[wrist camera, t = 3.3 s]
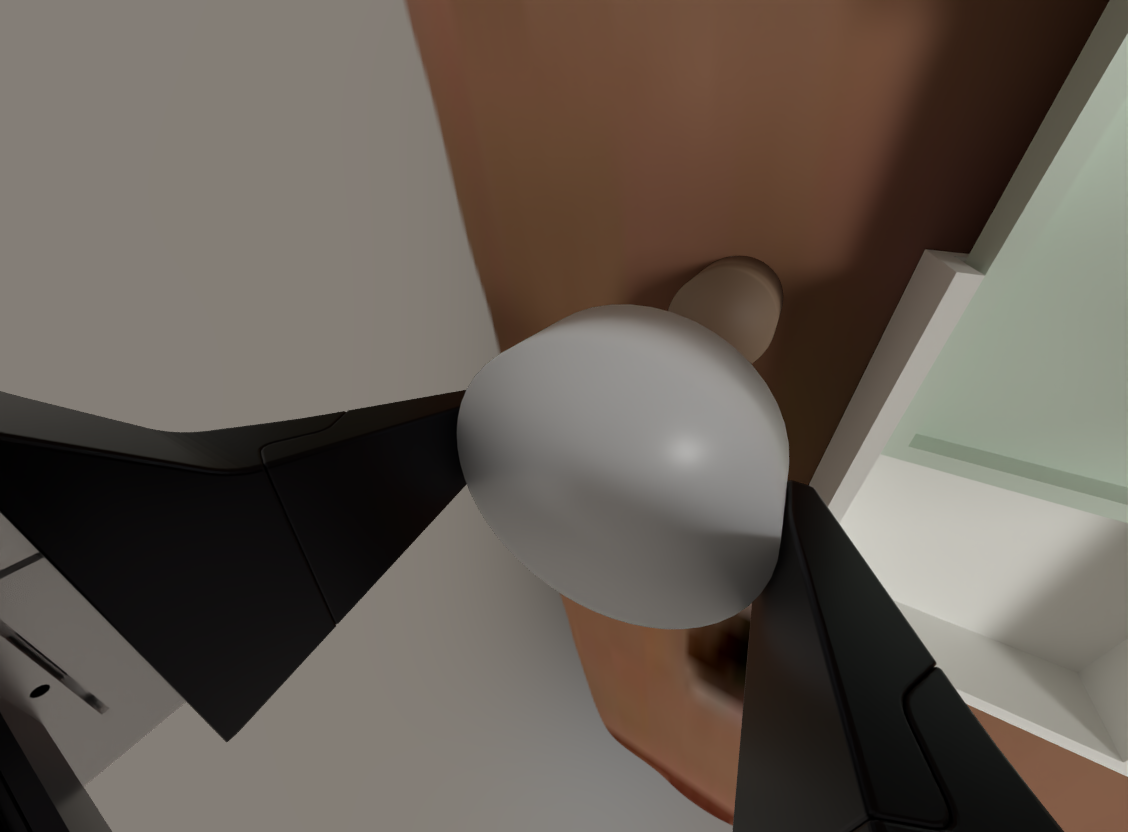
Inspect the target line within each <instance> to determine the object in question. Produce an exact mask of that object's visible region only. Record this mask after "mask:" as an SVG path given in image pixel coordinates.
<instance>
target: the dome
mask: <svg viewBox="0 0 1128 832" xmlns="http://www.w3.org/2000/svg"><path fill="white" fill-rule="evenodd" d="M457 448H458V454H459V459H460V464H461V468H462V471H463V475H464V478H465V481H466V483H467V485H468V488H469V491H470V493H471V495H472V497H473V499H474V501H475V503H476V505H477V507H478V509H479V510H480V512H481V514H482V515H483V517H484V519H485V520H486V522H487V523H488V525H489V526H490V527H491V529H492V530H493V532H494V533H495V534H496V536H497V537H498V538H499V539H500V540H501V542H502V543H503V544H504V545H505V546H506V548H507V549H508V550H509V551H510V552H511V553H512V554H513V555H514V556H515V557H516V558H517V559H518V560H519V561H520V562H521V563H522V564H523V565H524V566H525V567H527V568H528V569H529V570H530V571H531V572H532V573H533V574H535V575H536V576H537V577H539V578H540V579H541V580H542V581H544V582H545V583H546V584H548V585H549V586H550V587H552V588H553V589H555V590H556V591H558V592H559V593H561V594H562V595H564V596H566V597H568V598H569V599H571V600H573V601H575V602H576V603H578V604H580V605H582V606H584V607H586V608H588V609H591V610H593V611H595V612H597V613H600V614H602V615H605V616H607V617H610V618H613V619H616V620H620V621H623V622H626V623H630V624H635V625H639V626H644V627H651V628H660V629H688V628H696V627H703V626H707V625H710V624H714V623H718V622H720V621H723V620H725V619H727V618H729V617H732V616H734V615H735V614H737V613H738V612H740V611H742V610H743V609H745V608H746V607H748V606H749V605H750V604H751V603H752V602H753V601H754V600H755V599H756V598H757V597H758V596H759V595H760V594H761V593H762V591H763V590H764V588H765V586H766V585H767V583H768V582H769V580H770V579H771V577H772V574H773V571H774V569H775V566H776V563H777V561H778V555H779V549H780V543H781V535H782V525H783V516H784V507H785V498H786V488H787V479H788V470H789V442H788V437H787V432H786V427H785V423H784V420H783V417H782V414H781V412H780V409H779V406H778V404H777V402H776V400H775V398H774V396H773V395H772V393H771V391H770V389H769V387H768V386H767V384H766V382H765V381H764V380H763V378H762V377H761V376H760V375H759V373H758V372H757V371H756V369H755V368H754V367H753V365H752V364H751V363H750V362H749V361H748V360H747V359H746V358H745V357H744V356H743V355H742V354H741V353H740V352H739V351H738V350H737V349H736V348H734V347H733V346H732V345H730V344H729V343H728V342H727V341H725V340H724V339H723V338H721V337H720V336H719V335H717V334H716V333H714V332H712V331H711V330H709V329H707V328H705V327H704V326H702V325H700V324H698V323H697V322H695V321H692V320H690V319H688V318H685V317H683V316H680V315H678V314H675V313H673V312H669V311H665V310H661V309H657V308H654V307H647V306H640V305H632V304H623V305H605V306H599V307H593V308H589V309H586V310H583V311H580V312H576V313H574V314H572V315H570V316H568V317H566V318H564V319H562V320H560V321H558V322H556V323H554V324H552V325H551V326H549V327H547V328H545V329H544V330H542V331H540V332H538V333H536V334H535V335H533V336H531V337H529V338H527V339H526V340H524V341H522V342H520V343H518V344H517V345H515V346H513V347H511V348H509V349H508V350H506V351H504V352H502V353H500V354H499V355H498V356H496V357H495V358H493V359H492V360H491V361H489V362H488V363H487V364H486V365H485V366H484V367H483V368H482V369H481V370H480V371H479V372H478V373H477V374H476V375H475V377H474V379H473V380H472V382H471V383H470V385H469V386H468V388H467V390H466V392H465V395H464V397H463V400H462V402H461V406H460V410H459V415H458V422H457Z"/></svg>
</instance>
